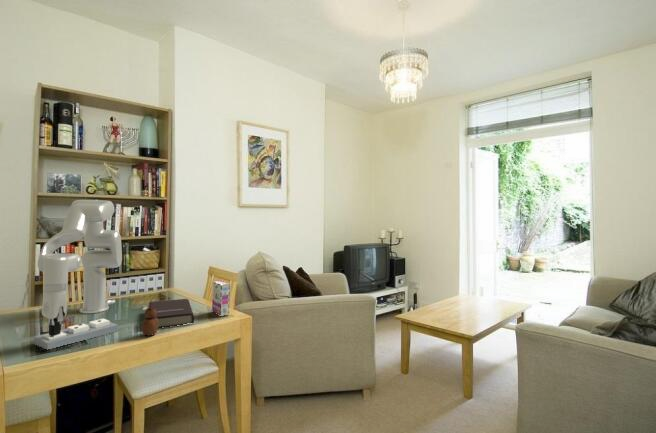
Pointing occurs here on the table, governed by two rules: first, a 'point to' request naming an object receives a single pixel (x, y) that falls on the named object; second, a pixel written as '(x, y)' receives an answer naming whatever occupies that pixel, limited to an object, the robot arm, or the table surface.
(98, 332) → the tile board
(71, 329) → the two dot tile
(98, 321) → the one dot tile
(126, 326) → the table surface
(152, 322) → the wooden figurine
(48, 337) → the three dot tile
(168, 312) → the book
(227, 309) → the candy bar box
